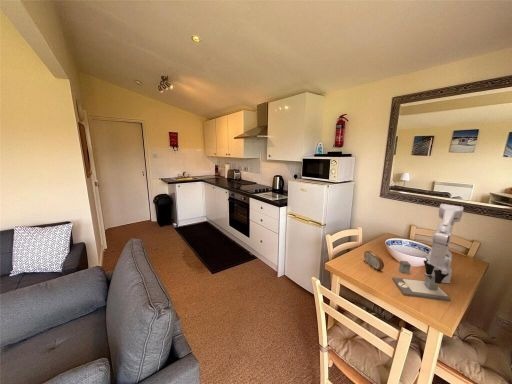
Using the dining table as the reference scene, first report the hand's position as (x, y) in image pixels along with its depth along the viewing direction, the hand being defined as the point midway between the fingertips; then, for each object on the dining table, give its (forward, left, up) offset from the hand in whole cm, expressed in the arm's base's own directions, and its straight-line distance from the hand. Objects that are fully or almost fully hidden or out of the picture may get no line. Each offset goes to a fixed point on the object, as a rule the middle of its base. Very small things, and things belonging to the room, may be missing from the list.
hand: (433, 278), depth 113 cm
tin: (+23, -20, -8) cm, 31 cm away
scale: (+6, 0, -7) cm, 9 cm away
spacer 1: (+6, -17, -7) cm, 19 cm away
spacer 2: (0, 0, -5) cm, 5 cm away
